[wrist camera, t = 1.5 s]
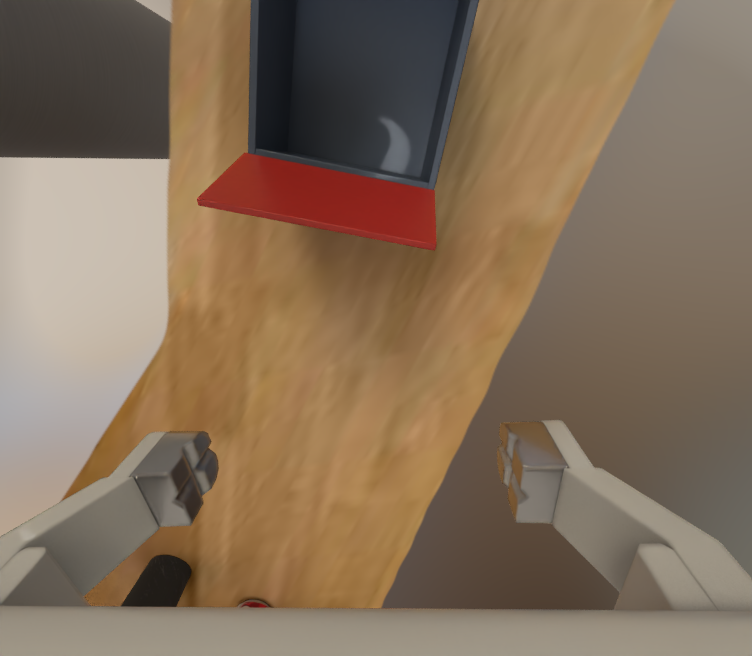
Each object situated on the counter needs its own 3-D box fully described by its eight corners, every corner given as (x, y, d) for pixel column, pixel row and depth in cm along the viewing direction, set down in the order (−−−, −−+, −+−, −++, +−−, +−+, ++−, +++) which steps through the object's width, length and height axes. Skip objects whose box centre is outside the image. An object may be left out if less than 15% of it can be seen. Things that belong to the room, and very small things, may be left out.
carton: (424, 184, 32) (433, 191, 24) (283, 156, 31) (247, 154, 24) (468, -16, 26) (500, -91, 18) (295, -55, 25) (252, -148, 18)
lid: (434, 190, 24) (433, 195, 24) (244, 152, 23) (245, 158, 23) (436, 244, 19) (434, 251, 19) (196, 198, 18) (198, 205, 19)
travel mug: (202, 572, 60) (120, 748, 42) (172, 585, 62) (82, 758, 44) (168, 548, 58) (66, 725, 39) (138, 562, 60) (28, 736, 42)
